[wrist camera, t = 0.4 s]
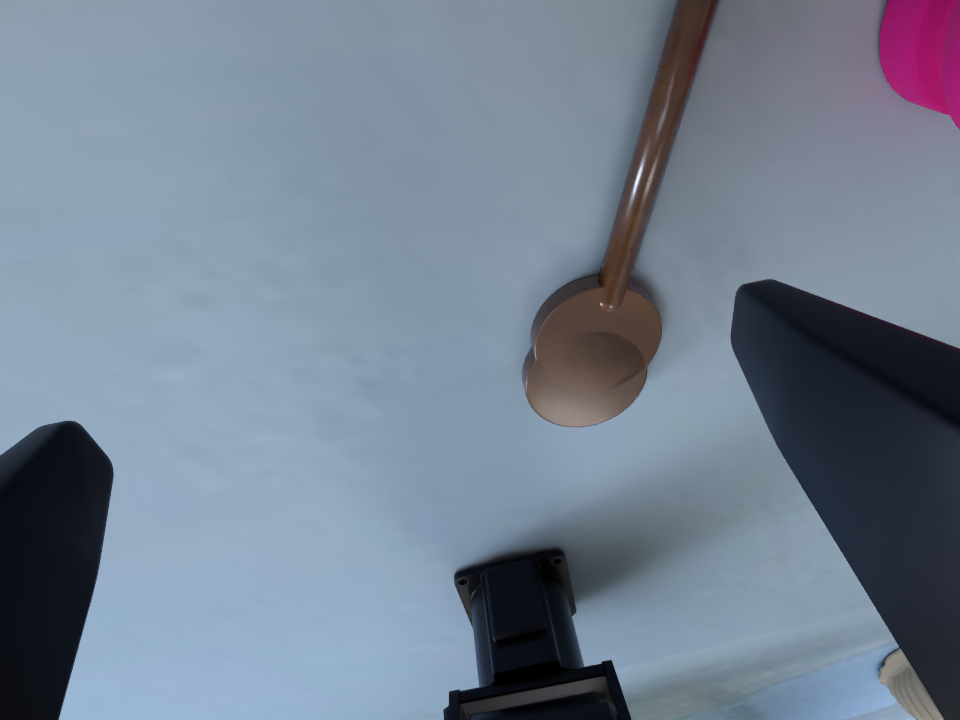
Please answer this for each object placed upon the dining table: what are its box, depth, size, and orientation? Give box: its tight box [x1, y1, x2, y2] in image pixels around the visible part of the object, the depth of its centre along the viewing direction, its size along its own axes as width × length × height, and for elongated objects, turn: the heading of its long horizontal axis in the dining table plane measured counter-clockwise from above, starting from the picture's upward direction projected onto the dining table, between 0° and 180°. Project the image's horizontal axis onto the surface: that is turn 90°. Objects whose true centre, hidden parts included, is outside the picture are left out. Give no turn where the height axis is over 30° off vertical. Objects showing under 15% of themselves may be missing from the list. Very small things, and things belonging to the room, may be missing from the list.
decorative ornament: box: [878, 648, 944, 720], centre depth 45 cm, size 4×8×5 cm, turn 144°
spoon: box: [522, 0, 719, 427], centre depth 22 cm, size 22×5×1 cm, turn 172°
